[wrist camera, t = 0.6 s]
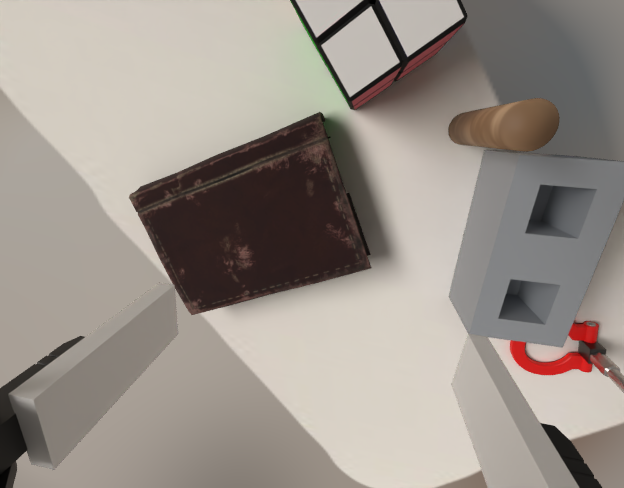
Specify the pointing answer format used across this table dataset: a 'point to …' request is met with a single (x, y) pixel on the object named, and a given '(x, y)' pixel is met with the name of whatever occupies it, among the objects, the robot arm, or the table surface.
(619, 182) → the socket block
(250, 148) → the diary
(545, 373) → the tow hook
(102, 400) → the robot arm
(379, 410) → the table surface
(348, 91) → the puzzle cube
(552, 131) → the walnut pin
